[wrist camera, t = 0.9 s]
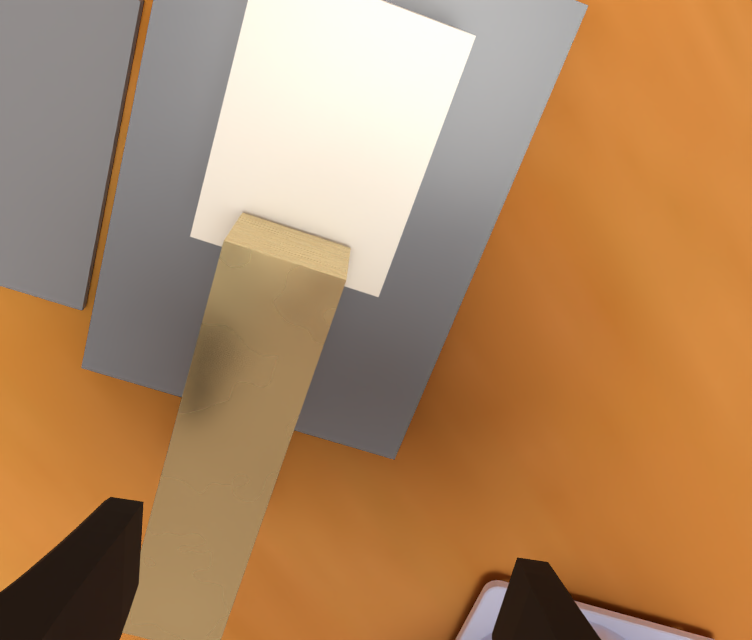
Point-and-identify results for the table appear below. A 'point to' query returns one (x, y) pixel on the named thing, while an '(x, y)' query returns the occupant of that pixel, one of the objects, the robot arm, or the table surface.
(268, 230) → the tan rectangular bar
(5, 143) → the mat
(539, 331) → the table surface
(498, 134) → the panel
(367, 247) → the white rectangular block
